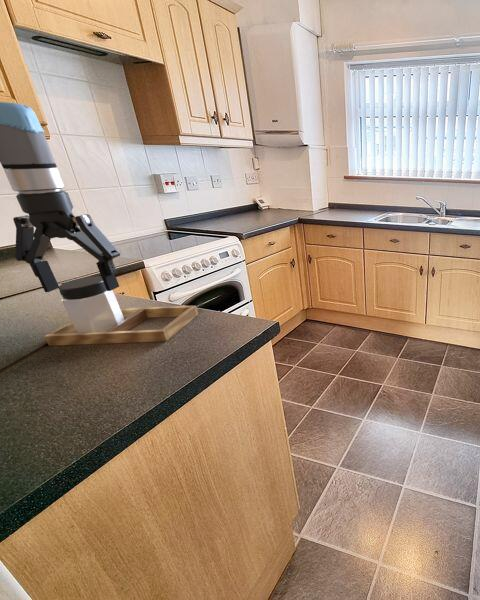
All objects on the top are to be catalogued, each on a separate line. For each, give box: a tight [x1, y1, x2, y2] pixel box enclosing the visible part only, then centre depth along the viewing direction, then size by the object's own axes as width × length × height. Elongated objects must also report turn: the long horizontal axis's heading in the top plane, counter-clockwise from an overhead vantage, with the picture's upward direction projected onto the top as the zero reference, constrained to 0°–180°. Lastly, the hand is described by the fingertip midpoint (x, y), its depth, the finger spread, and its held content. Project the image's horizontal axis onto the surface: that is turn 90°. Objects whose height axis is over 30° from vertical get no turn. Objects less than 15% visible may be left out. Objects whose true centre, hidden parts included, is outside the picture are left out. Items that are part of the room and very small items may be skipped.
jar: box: [58, 275, 124, 333], centre depth 78 cm, size 9×8×12 cm
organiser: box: [43, 305, 199, 347], centre depth 80 cm, size 26×14×2 cm, turn 91°
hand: (83, 289), depth 76 cm, fingers open, 13 cm apart
